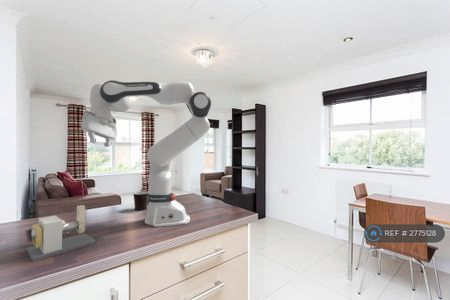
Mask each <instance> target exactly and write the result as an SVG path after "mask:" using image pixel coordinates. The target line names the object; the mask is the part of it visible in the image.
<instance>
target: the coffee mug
mask: <svg viewBox="0 0 450 300" xmlns="http://www.w3.org/2000/svg"><path fill="white" fill-rule="evenodd" d="M147 196H148V191H135V192H133V203H134V210H135V211H136V212H137V211H138V212H141V211H145V210H147V209H148V204H147Z"/></svg>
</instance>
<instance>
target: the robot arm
mask: <svg viewBox="0 0 450 300" xmlns="http://www.w3.org/2000/svg"><path fill="white" fill-rule="evenodd" d="M130 97H148V98H151V99H152V100H154V101H156V102H157V103H159V104H160V105H162V106H163V105H164V106H166V105H167V106H169V105H171V106H172V105H177V104H185V105H186V107H187V109H188V110H189V113H190V114H191V118H190V119H188V120H187V121H186V122H185V123H183V124H182V125H180V126H179V127H177V128H176V129H175V130H174V131H172V132H171V133H169V134H167V136H165V137H164V138H162V139H161V140H159V141H157V142H156V143H155V144H153V145H151V147H150V148H149V149H148V150H147V153H146V159H147V161H148V162H149V163H150V165H149V166H150V167H149V172H148V173H149V175H148V191H147V192H148V196H147V208H146V210H147V211H146V215H145V219H144V223H145V224H146V225H149V226H153V227H154V228H159V227H168V226H179V225H187V224H189V223H190V221H191V217H190V215H189V214H188V213H187V212H186V208H185V206H184V205H183V204H181V203H180V202H179V201H177V200H176V195H175V193H174V192H172V170H173V168H172V167H173V160H174V159H175V158H177V157H178V156H179V155H180V154H182V153H184V151H185V150H187V149H188V148H190V147H191V146H193V145H194V144H195V143H196V142H198V141H199V140H200V139H201V138H202V137H203V136H204V135H206V133H207V132H208V131H209V130H210V128H211V124H210V121H209V120H208V118H207V116H208V114H209V111H210V110H211V107H212V100H211V97H210V95H208V94H207V93H206V92H204V91H197V92H196V91H195V88H194V85H192V83H191V82H190V81H179V80H178V81H170V82H168V81H167V82H155V81H134V82H133V81H132V82H131V81H129V82H123V81H118V80H113V79H111V80H107V81H105V82H104V83H96V84H94V85H93V86H91V89H90V94H89V104H90V107H89V110H85V111H84V112H83V116H82V118H81V124H80V129H81V130H82V131H83V132H86V133H87V135H88V138H89V143H91V144H95V143H97V139H96V138H95V136H97V137H100V138H104V140H105V142H104V143H103V146H104V147H105V148H109V147H110V143H111V142H112V141H113V140H116V139H117V136H118V133H117V131H118V129H117V124H118V121H117V119H116V118H115V117H114V116H113V114H112V113H111V112H125V111H128V110H129V109H130V108H131V107H132V100H131V98H130Z"/></svg>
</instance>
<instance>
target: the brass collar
mask: <svg viewBox="0 0 450 300" xmlns="http://www.w3.org/2000/svg"><path fill="white" fill-rule="evenodd" d="M32 226H33V230H35V231H36V236H35V239H32V238H31V241H32V242H31V243H32V244H33V246H35V247H36V248H37V247H41V246H42V227H41V226H40V225H39V224H38V223H34V224H32Z"/></svg>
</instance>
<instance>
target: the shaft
mask: <svg viewBox="0 0 450 300" xmlns="http://www.w3.org/2000/svg"><path fill="white" fill-rule="evenodd" d="M73 230H76V231H75V232H76V233H78V234H84V233H85V232H86V206H85V205H83V204H80V205H76V220H75V221H70V222H66V223H64V224H62V232H66V231H68V232H70V231H73ZM35 236H36V231H35V230H32V231H31V240H32V239H35Z"/></svg>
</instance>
